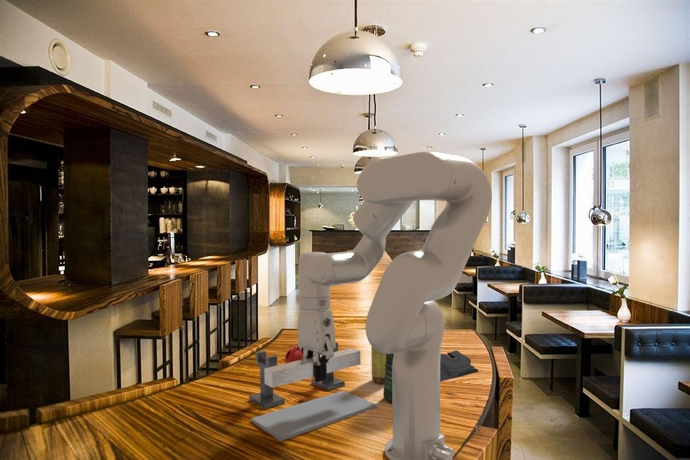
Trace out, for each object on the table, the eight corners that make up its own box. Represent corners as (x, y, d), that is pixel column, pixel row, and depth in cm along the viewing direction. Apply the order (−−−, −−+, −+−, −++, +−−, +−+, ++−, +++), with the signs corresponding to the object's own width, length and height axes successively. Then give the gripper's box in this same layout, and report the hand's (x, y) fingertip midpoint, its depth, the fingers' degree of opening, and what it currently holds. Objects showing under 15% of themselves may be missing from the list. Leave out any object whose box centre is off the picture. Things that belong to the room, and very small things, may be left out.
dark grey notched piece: (397, 372, 147) (397, 357, 147) (447, 360, 160) (447, 346, 160) (432, 386, 135) (432, 369, 135) (483, 372, 147) (483, 356, 147)
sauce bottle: (391, 385, 135) (391, 315, 134) (370, 383, 136) (369, 315, 135) (394, 377, 141) (393, 311, 141) (373, 376, 142) (372, 311, 142)
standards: (344, 385, 135) (344, 342, 134) (264, 409, 118) (263, 359, 118) (327, 378, 141) (327, 337, 140) (249, 400, 124) (248, 353, 124)
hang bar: (360, 364, 121) (360, 350, 121) (272, 387, 105) (272, 372, 105) (351, 361, 124) (351, 348, 124) (264, 383, 108) (264, 368, 108)
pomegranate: (321, 367, 153) (321, 338, 152) (306, 376, 144) (306, 345, 143) (295, 363, 157) (295, 335, 157) (278, 371, 148) (279, 341, 148)
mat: (376, 407, 118) (376, 404, 118) (280, 441, 101) (280, 437, 101) (343, 393, 128) (343, 390, 128) (251, 421, 111) (251, 418, 111)
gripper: (348, 305, 110) (349, 383, 110) (308, 297, 123) (308, 367, 123) (322, 309, 105) (323, 391, 106) (283, 300, 118) (284, 373, 119)
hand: (315, 377), depth 114 cm, fingers closed on hang bar, 3 cm apart
